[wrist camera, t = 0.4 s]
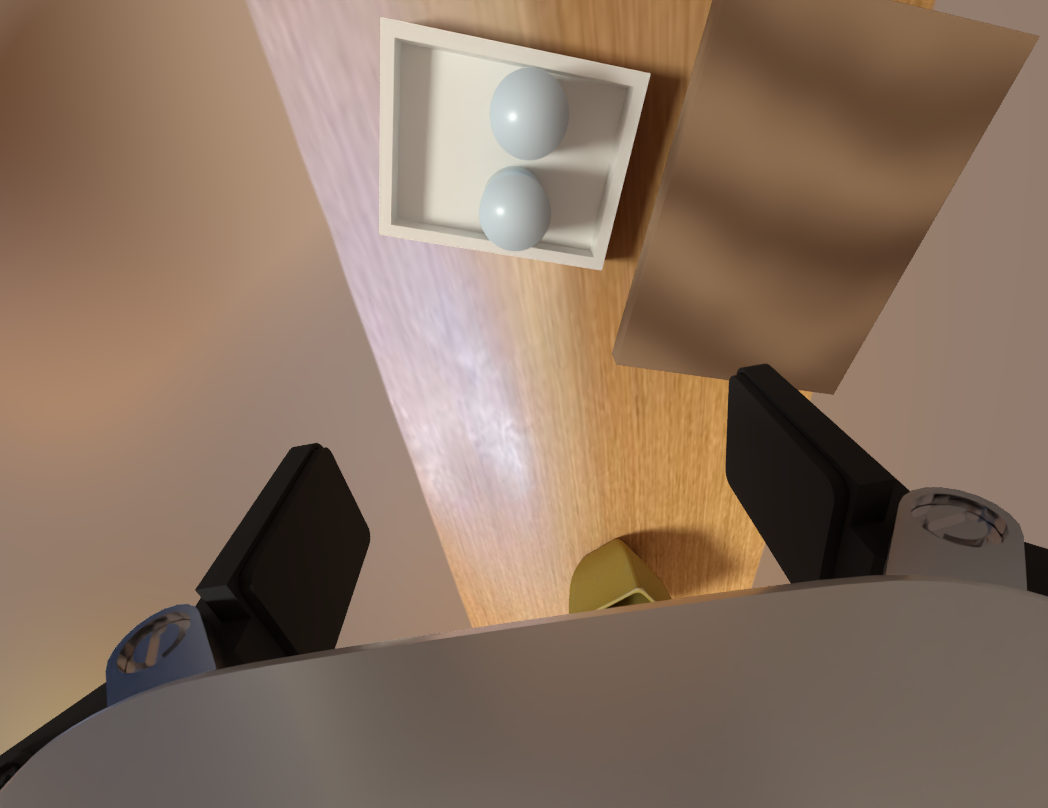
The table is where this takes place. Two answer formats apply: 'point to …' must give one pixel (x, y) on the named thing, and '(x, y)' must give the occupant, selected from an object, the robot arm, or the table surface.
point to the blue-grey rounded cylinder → (514, 209)
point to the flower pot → (613, 580)
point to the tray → (475, 155)
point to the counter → (806, 180)
